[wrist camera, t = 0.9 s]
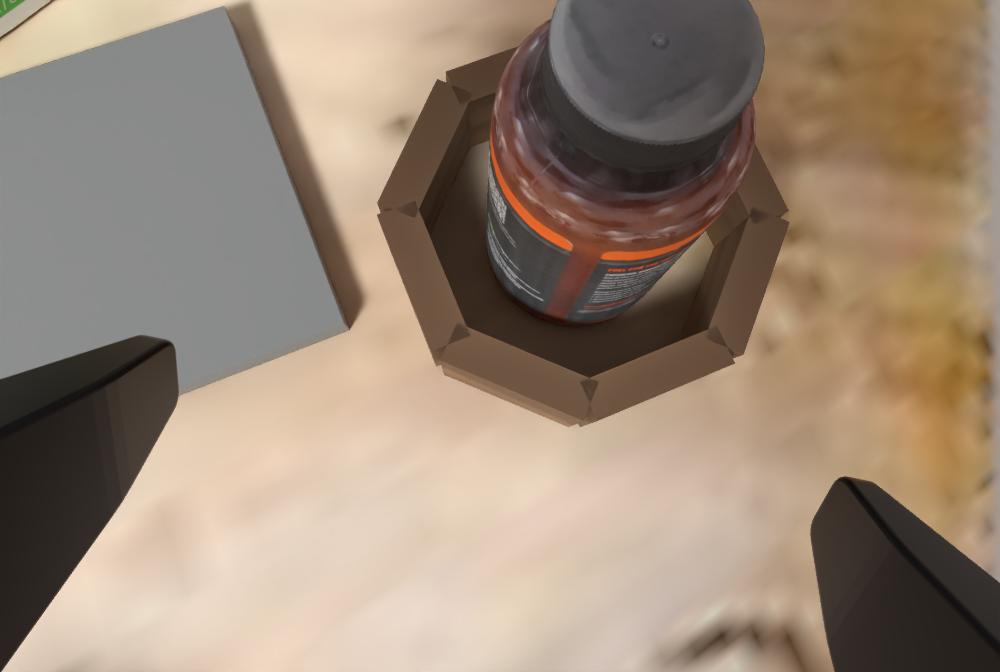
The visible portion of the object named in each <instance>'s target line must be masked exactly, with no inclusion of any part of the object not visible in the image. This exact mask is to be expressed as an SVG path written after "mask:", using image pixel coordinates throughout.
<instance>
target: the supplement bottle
mask: <svg viewBox="0 0 1000 672" xmlns="http://www.w3.org/2000/svg"><path fill="white" fill-rule="evenodd" d="M764 52H765V46H764V39H763V35H762V31H761V27H760V24H759V20H758V16H757V15H756V13H755V11H754V10H753V8H752V5H751V4H750V2H749V1H748V0H558V2H557V4H556V6H555V8H554V11H553V15H552V18H551V19H550V20H548V21H546V22H545V23H544V24H542V25H541V26H539V27H538V28H537V29H536V30H535V31H534V32H533V33H532V34H531V35H529V36H528V37H527V39H526V40H525V41H524V42H523V43H522V44H521V45H520V46H519V47H518V48H517V49H516V50H515V52H514V54H513V56H512V57H511V59H510V60H509V62H508V64H507V66H506V68H505V70H504V72H503V74H502V77H501V79H500V82H499V84H498V87H497V91H496V95H495V100H494V105H493V110H492V118H491V134H490V144H489V165H488V166H489V168H488V193H487V215H486V216H487V221H486V242H487V251H488V256H489V261H490V264H491V267H492V270H493V272H494V274H495V277H496V278H497V280H498V282H499V283H500V285H501V286H502V288H503V290H504V291H505V292H506V293H507V294H508V295H509V297H510V298H511V299H512V300H513V301H514V302H515V303H516V304H517V305H519V306H520V307H521V308H523V309H524V310H526V311H527V312H529V313H531V314H533V315H534V316H537V317H539V318H541V319H544V320H546V321H549V322H553V323H557V324H562V325H568V326H583V325H591V324H595V323H600V322H603V321H606V320H609V319H611V318H613V317H615V316H617V315H619V314H621V313H622V312H624V311H626V310H627V309H628V308H630V307H631V306H633V305H634V304H635V303H636V302H637V301H639V300H640V299H641V298H642V297H643V296H644V295H645V294H646V293H647V292H648V291H649V290H650V289H651V288H652V286H653V285H654V284H655V283H656V282H657V281H658V280H659V279H660V278H661V277H662V276H663V275H664V274H665V273H666V272H667V271H668V270H669V269H670V267H671V266H672V265H673V264H674V263H675V262H676V261H677V260H678V259H679V258H680V257H681V255H682V254H683V253H684V252H685V251H686V250H687V249H688V248H689V247H690V246H691V245H692V244H693V243H694V242H695V241H696V240H697V239H698V238H699V237H700V236H701V234H702V233H703V232H704V231H705V230H706V229H707V228H708V227H709V226H710V225H711V224H712V222H713V221H714V220H715V219H716V218H717V217H718V216H719V215H720V214H721V213H722V212H723V211H724V209H725V208H726V207H727V205H728V204H729V202H730V201H731V200H732V198H733V197H734V195H735V194H736V192H737V191H738V189H739V188H740V185H741V183H742V182H743V180H744V177H745V174H746V172H747V169H748V167H749V165H750V161H751V157H752V153H753V148H754V144H755V133H756V121H755V112H754V104H753V99H752V97H753V95H754V93H755V91H756V88H757V86H758V83H759V81H760V77H761V73H762V70H763V63H764Z"/></svg>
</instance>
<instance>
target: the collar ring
mask: <svg viewBox="0 0 1000 672" xmlns="http://www.w3.org/2000/svg"><path fill="white" fill-rule="evenodd" d="M517 48H518V47H516V48H513V49H510V50H507V51H504V52H501V53H498V54H495V55H493V56H490V57H487V58H484V59H481V60H478V61H475V62H472V63H469V64H467V65H464V66H461V67H458V68H455V69H452V70H449V71H446V81H447V83H445V82H443V81H440V80H438V79H437V81H436V83H435V85H434V87H433V89H432V91H431V93H430V95H429V97H428V99H427V101H426V103H425V105H424V107H423V110H422V112H421V114H420V116H419V118H418V120H417V122H416V124H415V126H414V128H413V130H412V132H411V134H410V136H409V138H408V140H407V143H406V145H405V147H404V149H403V151H402V153H401V155H400V157H399V159H398V161H397V163H396V165H395V167H394V169H393V171H392V174H391V176H390V178H389V180H388V182H387V184H386V186H385V188H384V190H383V192H382V194H381V196H380V198H379V200H378V202H377V203H378V206H379V209H380V212H381V213H380V214H378V215H377V216H378V219H379V222H380V224H381V227H382V230H383V232H384V235H385V238H386V240H387V243H388V246H389V248H390V251H391V253H392V256H393V258H394V261H395V264H396V266H397V269H398V271H399V274H400V276H401V279H402V281H403V284H404V286H405V289H406V291H407V294H408V296H409V299H410V301H411V304H412V306H413V309H414V311H415V314H416V316H417V319H418V321H419V324H420V326H421V329H422V331H423V334H424V337H425V339H426V342H427V344H428V347H429V349H430V352H431V354H432V357H433V359H434V362H435V364H436V366H439V365H442V368H443V372H444V375H447V376H449V377H451V378H454V379H456V380H459V381H461V382H463V383H466V384H468V385H470V386H473V387H475V388H478V389H480V390H482V391H485V392H487V393H489V394H492V395H494V396H496V397H499V398H501V399H504V400H506V401H508V402H511V403H513V404H515V405H518V406H520V407H523V408H525V409H527V410H530V411H532V412H534V413H537V414H539V415H542V416H544V417H546V418H549V419H551V420H553V421H556V422H558V423H561V424H563V425H565V426H568V427H570V426H572V425H575V424H577V423H579V426H580V427H581V426H584V425H587V424H590V423H593V422H596V421H598V420H601V419H603V418H605V417H608V416H610V415H613V414H615V413H617V412H620V411H622V410H624V409H627V408H629V407H632V406H634V405H636V404H639V403H641V402H644V401H646V400H648V399H651V398H653V397H656V396H658V395H660V394H663V393H665V392H668V391H670V390H672V389H675V388H677V387H679V386H682V385H684V384H687V383H689V382H691V381H694V380H696V379H699V378H701V377H703V376H706V375H708V374H711V373H713V372H715V371H718V370H720V369H723V368H725V367H727V366H730V365H732V364H734V363H735V362H734V360H733V358H736V357H738V356H741V355H743V354H744V351H745V349H746V346H747V343H748V340H749V337H750V334H751V331H752V329H753V326H754V323H755V320H756V317H757V314H758V311H759V308H760V306H761V303H762V300H763V297H764V294H765V291H766V288H767V285H768V283H769V280H770V277H771V274H772V271H773V268H774V265H775V262H776V260H777V257H778V254H779V251H780V248H781V245H782V242H783V239H784V237H785V234H786V231H787V228H788V225H789V222H788V221H785V220H783V219H781V218H780V217H781V216H782V215H784V214H785V213H786V212H787V211H789V210H788V208H787V206H786V204H785V202H784V200H783V198H782V197H781V195H780V193H779V191H778V189H777V187H776V185H775V183H774V181H773V179H772V177H771V175H770V173H769V171H768V169H767V167H766V165H765V163H764V161H763V159H762V157H761V155H760V153H759V151H758V149H757V147H756V145H755V144H754V148H753V153H752V157H751V161H750V165H749V167H748V169H747V172H746V174H745V177H744V180H743V182H742V183H741V185H740V188H739V189H738V191H737V192H736V194H735V195H734V197H733V198H732V200H731V201H730V202H729V204H728V205H727V207H726V208H725V209H724V211H723V212H722V213H721V214H720V215H719V216H718V217H717V218H716V219H715V220H714V221H713V222H712V224H711V225H710V226H709V227H708V228H707V229H706V231H707V233H708V235H709V237H710V239H711V241H712V243H713V245H714V249H713V252H712V255H711V257H710V260H709V263H708V265H707V268H706V271H705V274H704V276H703V279H702V282H701V284H700V287H699V290H698V292H697V295H696V298H695V301H694V303H693V306H692V309H691V311H690V314H689V317H688V320H687V322H686V325H685V328H684V330H683V333H682V336H681V338H680V341H678V342H676V343H673V344H671V345H669V346H666V347H664V348H661V349H659V350H656V351H654V352H651V353H649V354H647V355H644V356H642V357H639V358H637V359H634V360H632V361H629V362H627V363H625V364H622V365H620V366H617V367H615V368H612V369H610V370H608V371H605V372H603V373H600V374H598V375H595V376H593V377H590V378H588V377H586V376H584V375H581V374H579V373H576V372H574V371H572V370H569V369H567V368H564V367H562V366H560V365H557V364H555V363H553V362H550V361H548V360H545V359H543V358H541V357H538V356H536V355H533V354H531V353H529V352H526V351H524V350H521V349H519V348H517V347H514V346H512V345H510V344H507V343H505V342H502V341H500V340H498V339H495V338H493V337H490V336H488V335H486V334H483V333H481V332H478V331H476V330H474V329H471V328H469V327H467V326H466V324H465V322H464V319H463V317H462V314H461V312H460V309H459V307H458V305H457V302H456V300H455V297H454V295H453V292H452V290H451V287H450V285H449V283H448V280H447V278H446V275H445V273H444V270H443V268H442V265H441V263H440V261H439V258H438V256H437V253H436V251H435V248H434V246H433V243H432V241H431V239H430V236H429V233H430V231H431V229H432V227H433V225H434V222H435V220H436V218H437V216H438V214H439V212H440V209H441V207H442V205H443V203H444V201H445V199H446V197H447V194H448V192H449V190H450V188H451V186H452V184H453V181H454V179H455V177H456V175H457V173H458V171H459V168H460V166H461V164H462V162H463V160H464V158H465V155H466V153H467V151H468V149H469V147H471V146H474V145H476V144H479V143H482V142H485V141H487V140H490V134H491V118H492V110H493V105H494V100H495V95H496V91H497V87H498V84H499V82H500V79H501V77H502V74H503V72H504V70H505V68H506V66H507V64H508V62H509V60H510V59H511V57H512V56H513V54H514V52H515V50H516V49H517Z"/></svg>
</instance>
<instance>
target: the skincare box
mask: <svg viewBox="0 0 1000 672" xmlns="http://www.w3.org/2000/svg"><path fill="white" fill-rule="evenodd" d="M50 1H51V0H0V37H1V36H2V35H4V34H5V33H7V32H8V31H10V30H12V29H13V28H14V27H16V26H17V25H18V24H20V23H21V22H23V21H24V20H25V19H27V18H28V17H29V16H31V15H32V14H33V13H35V12H36V11H37V10H39V9H40V8H41V7H43V6H44V5H46V4H47V3H49V2H50Z"/></svg>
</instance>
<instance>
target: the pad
mask: <svg viewBox="0 0 1000 672" xmlns="http://www.w3.org/2000/svg"><path fill="white" fill-rule="evenodd" d="M348 330H350V329H349V327H348V324H347V321H346V319H345V316H344V314H343V311H342V308H341V306H340V303H339V300H338V298H337V295H336V292H335V290H334V287H333V285H332V282H331V279H330V277H329V274H328V271H327V269H326V266H325V263H324V261H323V258H322V255H321V253H320V250H319V248H318V245H317V242H316V240H315V237H314V234H313V232H312V229H311V226H310V224H309V221H308V219H307V216H306V213H305V211H304V208H303V205H302V203H301V200H300V197H299V195H298V192H297V189H296V187H295V184H294V182H293V179H292V176H291V174H290V171H289V168H288V166H287V163H286V160H285V158H284V155H283V153H282V150H281V147H280V145H279V142H278V139H277V137H276V134H275V131H274V129H273V126H272V123H271V121H270V118H269V116H268V113H267V110H266V108H265V105H264V102H263V100H262V97H261V94H260V92H259V89H258V86H257V84H256V81H255V79H254V76H253V73H252V71H251V68H250V65H249V63H248V60H247V57H246V55H245V52H244V50H243V47H242V44H241V42H240V39H239V36H238V34H237V31H236V28H235V26H234V24H233V22H232V20H231V18H230V16H229V14H228V12H227V11H226V9H225V7H224V6H223V7H220V8H217V9H214V10H210V11H207V12H204V13H201V14H198V15H195V16H192V17H189V18H186V19H182V20H179V21H176V22H173V23H170V24H167V25H164V26H161V27H158V28H155V29H151V30H148V31H145V32H142V33H139V34H136V35H133V36H130V37H127V38H123V39H120V40H117V41H114V42H111V43H108V44H105V45H102V46H99V47H95V48H92V49H89V50H86V51H83V52H80V53H77V54H74V55H71V56H68V57H64V58H61V59H58V60H55V61H52V62H49V63H46V64H43V65H40V66H36V67H33V68H30V69H27V70H24V71H21V72H18V73H15V74H12V75H9V76H5V77H2V78H0V379H2V378H5V377H8V376H11V375H15V374H18V373H21V372H24V371H27V370H30V369H33V368H37V367H40V366H43V365H46V364H49V363H52V362H55V361H58V360H62V359H65V358H68V357H71V356H74V355H77V354H80V353H84V352H87V351H90V350H93V349H96V348H99V347H102V346H105V345H109V344H112V343H115V342H118V341H121V340H124V339H127V338H131V337H134V336H137V335H147V336H152V337H157V338H162V339H167V340H169V341H171V342H172V343H173V344H174V347H175V350H176V359H177V371H178V384H179V395H182V394H184V393H187V392H190V391H192V390H195V389H197V388H200V387H203V386H205V385H208V384H210V383H213V382H216V381H218V380H221V379H223V378H226V377H229V376H231V375H234V374H236V373H239V372H242V371H244V370H247V369H249V368H252V367H255V366H257V365H260V364H262V363H265V362H268V361H270V360H273V359H275V358H278V357H281V356H283V355H286V354H288V353H291V352H294V351H296V350H299V349H301V348H304V347H307V346H309V345H312V344H314V343H317V342H320V341H322V340H325V339H327V338H330V337H333V336H335V335H338V334H340V333H343V332H346V331H348Z"/></svg>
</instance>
